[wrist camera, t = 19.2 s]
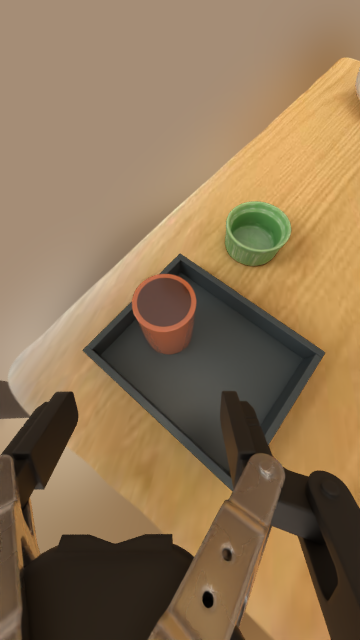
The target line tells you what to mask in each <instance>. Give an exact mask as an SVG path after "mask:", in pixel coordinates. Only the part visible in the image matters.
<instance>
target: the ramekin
mask: <svg viewBox="0 0 360 640" xmlns="http://www.w3.org/2000/svg"><path fill="white" fill-rule="evenodd" d="M290 235H291V224H290V221H289V219H288V217H287V216H286V215H285V214H284V212H282V211H281V210H280V209H279V208H277V207H275V206H274V205H271V204H268V203H265V202H258V201H255V202H246V203H243V204H240V205H238V206H237V207H235V208H234V209H233V210H232V211H231V212H230V213H229V215H228V217H227V221H226V237H225V246H226V249H227V252H228V253H229V255H230V256H231V257H232V258H233V259H234V260H236V261H237V262H239V263H242V264H245V265H249V266H258V265H262V264H265V263H267V262H269V261H270V260H271V259H272V258H273V257H274V256H275V255H276V253H277V252H278V251H279V249H280V248H281V247H282V246H283V245H284V244H285V243H286V242H287V241H288V239H289V237H290Z"/></svg>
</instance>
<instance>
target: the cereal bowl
mask: <svg viewBox="0 0 360 640" xmlns="http://www.w3.org/2000/svg"><path fill="white" fill-rule="evenodd" d="M355 86H356V93H357V96H358V98H359V100H360V69H359V72H358V74H357V78H356V85H355Z"/></svg>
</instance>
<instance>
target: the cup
mask: <svg viewBox="0 0 360 640" xmlns="http://www.w3.org/2000/svg"><path fill="white" fill-rule="evenodd" d="M132 309H133V313H134V315H135V317H136V319H137V321H138V323H139V325H140V327H141V329H142V331H143V333H144V335H145V337H146V339H147V341H148V343H149V345H150V346H151V347H152V348H153V349H154V350H155V351H157V352H159V353H162V354H175V353H178V352H180V351H182V350H183V349H185V348H186V347H187V346H188V344H189V343H190V341H191V338H192V334H193V326H194V318H195V311H196V295H195V293H194V290H193V288H192V287H191V286H190V284H189V283H188V282H186V281H185V280H184V279H182V278H180V277H178V276H175V275H171V274H159V275H155V276H152V277H150V278H148V279H146V280H145V281H143V282H142V283H141V284H140V285H139V286H138V287H137V289H136V291H135V292H134V295H133V299H132Z"/></svg>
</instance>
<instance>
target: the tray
mask: <svg viewBox="0 0 360 640" xmlns="http://www.w3.org/2000/svg"><path fill="white" fill-rule="evenodd" d="M160 274H171V275H175V276H178V277H180V278H182V279H184V280H185V281H186V282H188V283H189V284H190V286H191V287H192V288H193V290H194V293H195V295H196V311H195V318H194V326H193V334H192V338H191V341H190V343H189V344H188V346H187V347H186V348H185V349H183V350H182V351H180V352H178V353H175V354H162V353H159V352H157V351H155V350H154V349H153V348H152V347H151V346H150V345H149V343H148V341H147V339H146V337H145V335H144V333H143V331H142V329H141V327H140V325H139V323H138V321H137V319H136V317H135V315H134V313H133V309H132V302H131V303H130V304H129V305H128V306H127V307H126V308H125V309H124V310H123V311H122V312H121V313H120V314H119V315H118V316H117V317H116V318H115V319H114V320H113V321H112V322H111V323H110V324H109V325H108V326H107V327H105V328H104V329H103V330H102V331H101V332H100V333H99V334H98V335H97V336H96V337H95V338H94V339H93V340H92V341H91V342H90V343H89V344H88V346H86V347H85V348H84V349H83V351H84V352H85V353H86V354H87V355H88V356H89V357H90V358H91V359H92V360H93V361H94V362H95V363H96V364H97V365H98V366H100V367H101V368H102V369H103V370H104V371H105V372H106V373H107V374H108V375H109V376H110V377H111V378H112V379H113V380H114V381H116V382H117V383H118V384H119V385H120V386H121V387H122V388H123V389H124V390H125V391H126V392H127V393H128V394H129V395H130V396H132V397H133V398H134V399H135V400H136V401H137V402H138V403H139V404H140V405H141V406H142V407H143V408H144V409H145V410H146V411H147V412H149V413H150V414H151V415H152V416H153V417H154V418H155V419H156V420H157V421H158V422H159V423H160V424H161V425H162V426H163V427H165V428H166V429H167V430H168V431H169V432H170V433H171V434H172V435H173V436H174V437H175V438H176V439H177V440H178V441H179V442H180V443H182V444H183V445H184V446H185V447H186V448H187V449H188V450H189V451H190V452H191V453H192V454H193V455H194V456H195V457H196V458H198V459H199V460H200V461H201V462H202V463H203V464H204V465H205V466H206V467H207V468H208V469H209V470H210V471H211V472H212V473H214V474H215V475H216V476H217V477H218V478H219V479H220V480H221V481H222V482H223V483H224V484H225V485H226V486H227V487H228V488H229V489H231V490H232V491H233V490H234V489H233V484H232V479H231V474H230V469H229V464H228V458H227V453H226V448H225V443H224V438H223V433H222V428H221V422H220V407H221V394H222V391H236V392H237V394H238V397H239V400H240V401H247V402H248V403H249V404H250V405H251V406H252V407H253V408H254V410H255V413H256V415H257V419H258V420H259V423H260V426H261V428H262V431H263V433H264V436H265V438H266V441H267V443H268V445H269V443H270V442H271V440H272V438H273V437H274V435H275V434H276V432H277V430H278V429H279V427H280V425H281V424H282V422H283V421H284V419H285V417H286V416H287V414H288V412H289V411H290V409H291V408H292V406H293V404H294V403H295V401H296V399H297V398H298V396H299V395H300V393H301V391H302V390H303V388H304V387H305V385H306V383H307V382H308V380H309V378H310V377H311V375H312V374H313V372H314V370H315V369H316V367H317V365H318V364H319V362H320V361H321V359H322V357H323V356H324V354H325V352H324V351H323V350H321V349H320V348H318V347H317V346H315V345H314V344H312V343H311V342H309V341H308V340H306V339H305V338H303V337H302V336H301V335H299V334H298V333H296V332H295V331H293V330H292V329H290V328H289V327H287V326H286V325H284V324H283V323H281V322H280V321H278V320H277V319H276V318H274V317H273V316H271V315H270V314H268V313H267V312H265V311H264V310H262V309H261V308H259V307H258V306H256V305H255V304H254V303H252V302H251V301H249V300H248V299H246V298H245V297H243V296H242V295H240V294H239V293H237V292H236V291H234V290H233V289H231V288H230V287H229V286H227V285H226V284H224V283H223V282H221V281H220V280H218V279H217V278H215V277H214V276H212V275H211V274H209V273H208V272H207V271H205V270H204V269H202V268H201V267H199V266H198V265H196V264H195V263H193V262H192V261H190V260H189V259H187V258H186V257H185V256H183V255H182V254H179V255H178V256H177V257H176V258H175V259H174V260H173V261H172V262H171V263H170V264H169V265H168V266H167V267H166V268H165V269H164V270H163V271H162V272H161V273H160Z"/></svg>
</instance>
